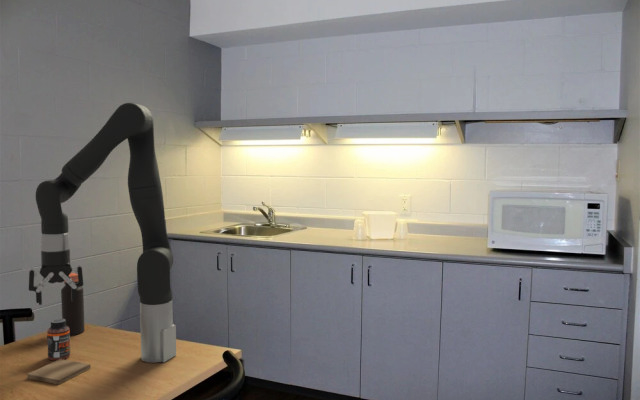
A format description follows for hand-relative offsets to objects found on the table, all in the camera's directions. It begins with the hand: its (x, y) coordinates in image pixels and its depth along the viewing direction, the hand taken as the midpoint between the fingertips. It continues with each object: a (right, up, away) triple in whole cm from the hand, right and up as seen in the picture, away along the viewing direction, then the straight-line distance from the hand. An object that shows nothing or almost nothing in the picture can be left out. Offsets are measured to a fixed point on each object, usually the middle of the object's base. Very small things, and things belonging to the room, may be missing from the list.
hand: (57, 302), depth 153 cm
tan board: (+6, -18, -9) cm, 21 cm away
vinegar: (-6, -15, +23) cm, 28 cm away
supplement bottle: (0, -17, +2) cm, 17 cm away
